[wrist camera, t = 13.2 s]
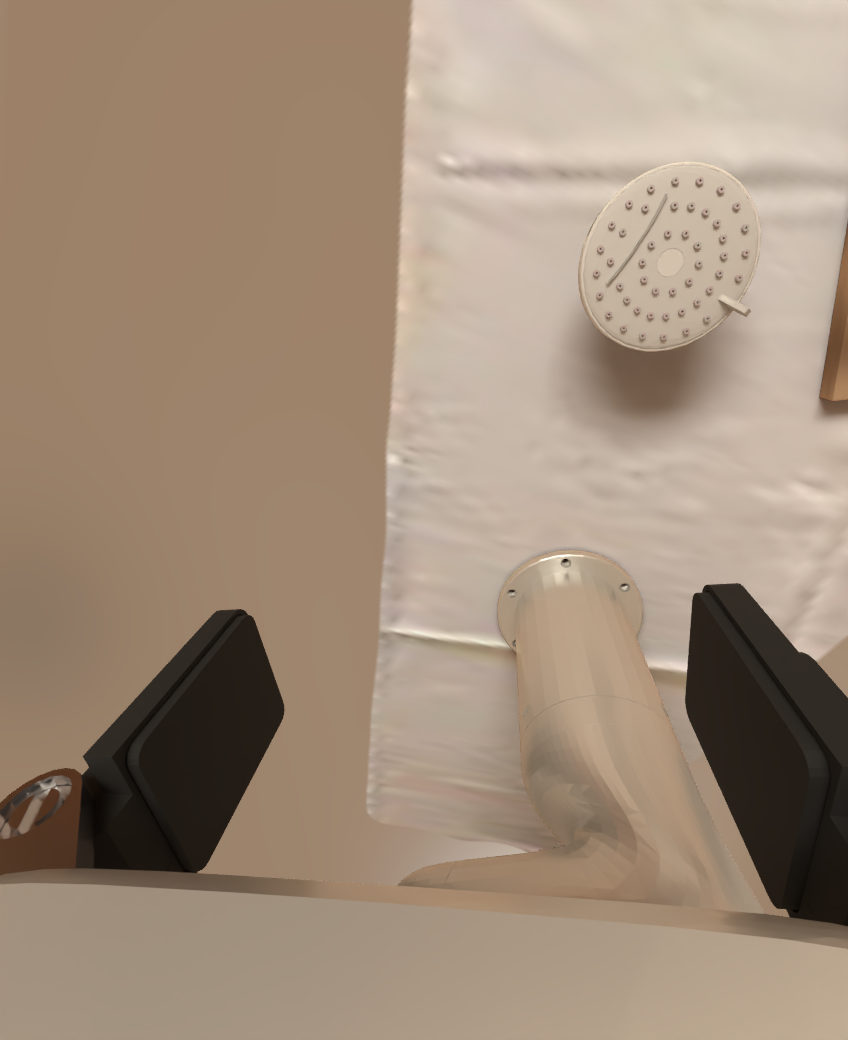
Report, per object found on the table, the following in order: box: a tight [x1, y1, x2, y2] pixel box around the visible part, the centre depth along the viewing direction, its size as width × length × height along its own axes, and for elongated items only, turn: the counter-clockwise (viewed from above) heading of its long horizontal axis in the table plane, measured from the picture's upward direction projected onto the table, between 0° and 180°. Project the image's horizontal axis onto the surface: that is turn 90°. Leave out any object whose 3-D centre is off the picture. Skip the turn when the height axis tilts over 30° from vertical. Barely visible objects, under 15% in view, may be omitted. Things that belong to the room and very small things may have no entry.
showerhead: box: [578, 162, 761, 352], centre depth 30 cm, size 9×7×10 cm
